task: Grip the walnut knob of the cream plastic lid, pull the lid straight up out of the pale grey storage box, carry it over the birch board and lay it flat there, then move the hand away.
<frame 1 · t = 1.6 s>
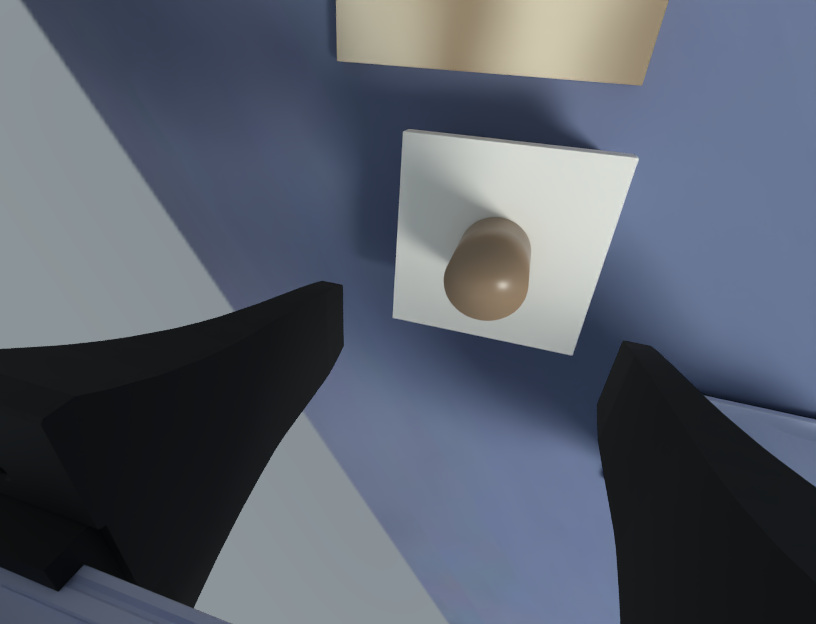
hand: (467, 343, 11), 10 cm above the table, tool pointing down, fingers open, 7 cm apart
lid: (496, 245, 17), point 3 cm above the table, touching storage box
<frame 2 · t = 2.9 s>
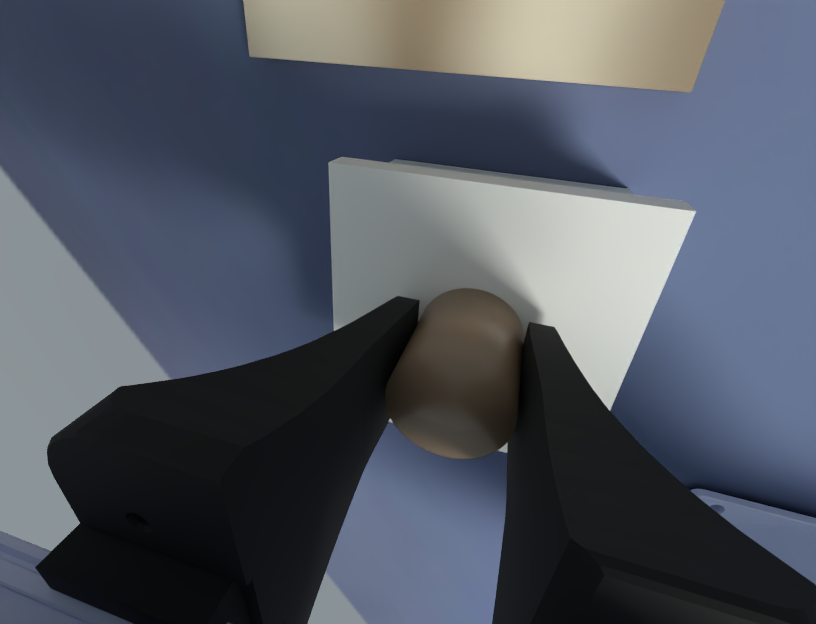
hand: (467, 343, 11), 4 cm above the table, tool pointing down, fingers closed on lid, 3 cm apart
storage box: (486, 277, 14), on the table
lid: (474, 320, 12), point 3 cm above the table, touching gripper, storage box
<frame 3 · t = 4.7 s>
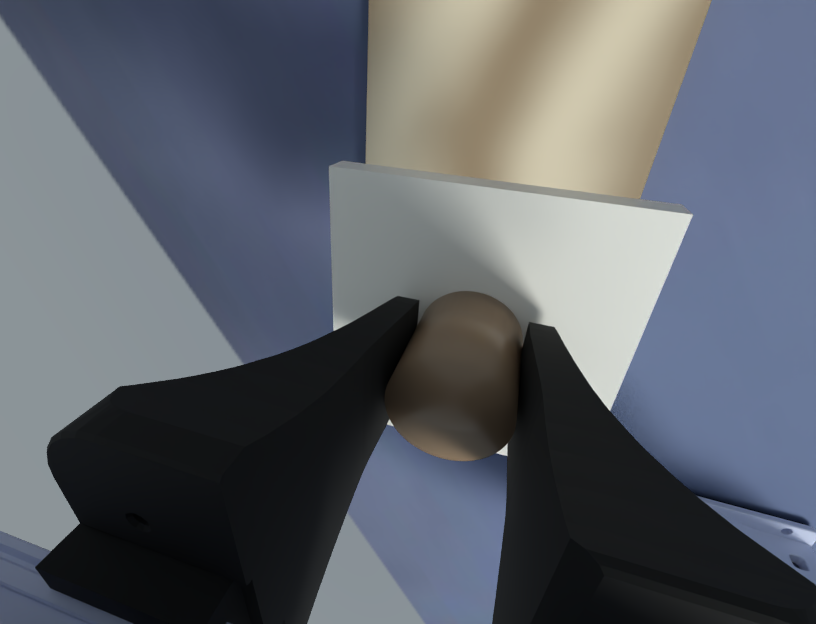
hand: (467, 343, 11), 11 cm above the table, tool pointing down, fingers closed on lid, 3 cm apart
birch board: (508, 98, 17), on the table
lid: (473, 323, 12), point 9 cm above the table, touching gripper
when the fingers open (4 cm above the table, at t = 6.5 s): lid drops 1 cm, resting on birch board.
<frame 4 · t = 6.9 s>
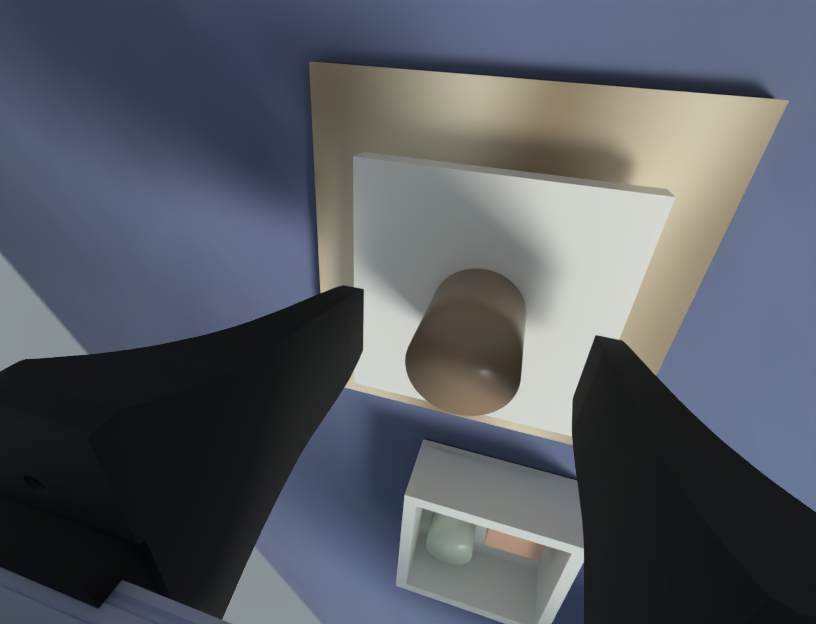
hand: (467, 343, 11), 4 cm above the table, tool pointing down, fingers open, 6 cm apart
storage box: (487, 508, 20), on the table
birch board: (486, 278, 14), on the table
lid: (481, 299, 13), point 1 cm above the table, touching birch board
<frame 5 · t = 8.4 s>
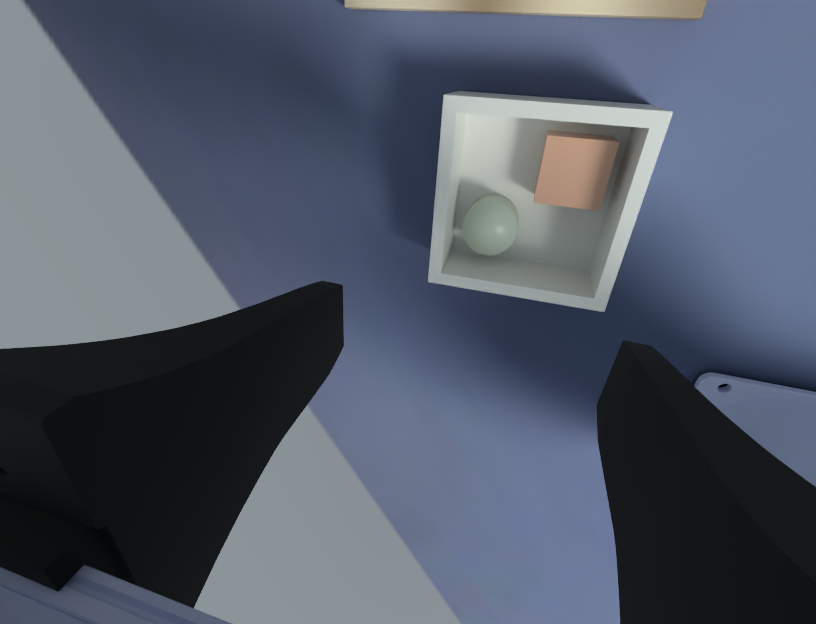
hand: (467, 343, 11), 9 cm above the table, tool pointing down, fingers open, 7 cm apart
storage box: (531, 191, 17), on the table
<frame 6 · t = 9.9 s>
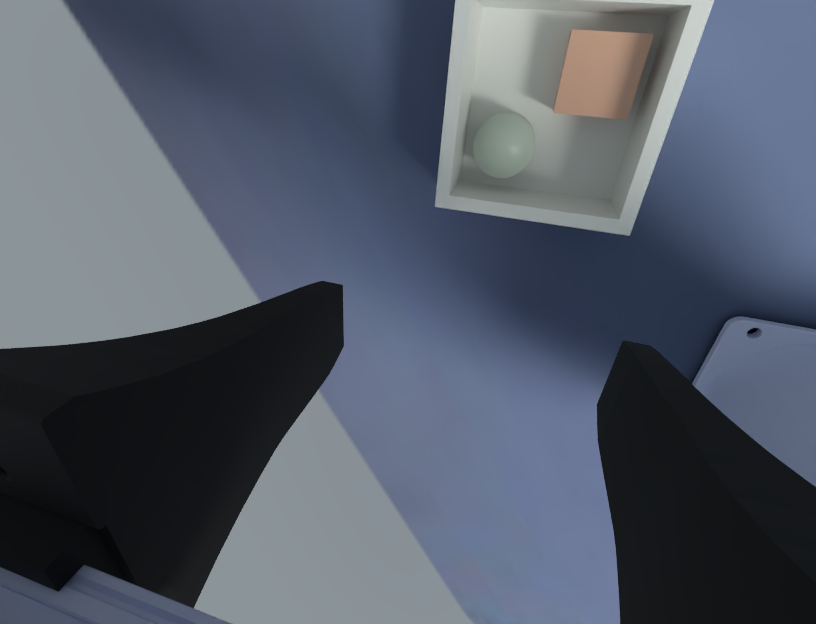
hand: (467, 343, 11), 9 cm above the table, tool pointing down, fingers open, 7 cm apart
storage box: (550, 108, 16), on the table
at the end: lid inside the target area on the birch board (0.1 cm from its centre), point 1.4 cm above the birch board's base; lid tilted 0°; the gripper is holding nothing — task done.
